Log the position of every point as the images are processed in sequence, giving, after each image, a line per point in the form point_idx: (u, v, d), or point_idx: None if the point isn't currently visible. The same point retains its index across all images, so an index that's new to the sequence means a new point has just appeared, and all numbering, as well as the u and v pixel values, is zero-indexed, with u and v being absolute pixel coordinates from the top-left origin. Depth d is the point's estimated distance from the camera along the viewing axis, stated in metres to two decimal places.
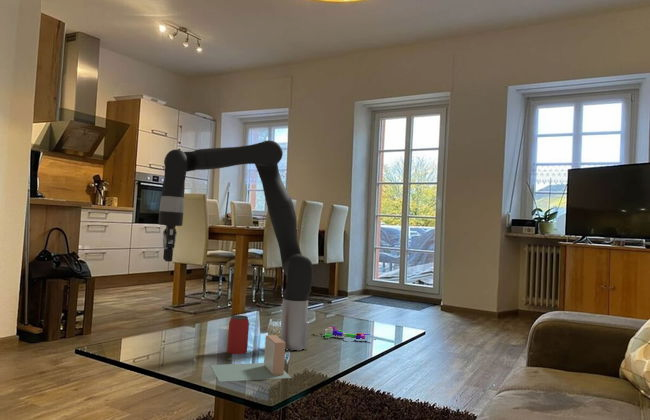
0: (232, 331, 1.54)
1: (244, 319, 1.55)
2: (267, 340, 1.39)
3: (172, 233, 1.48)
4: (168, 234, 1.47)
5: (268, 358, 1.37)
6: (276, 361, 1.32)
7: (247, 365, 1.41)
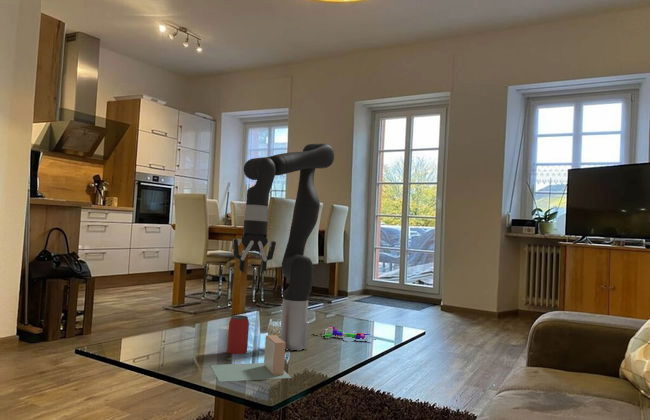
0: (232, 331, 1.54)
1: (244, 319, 1.55)
2: (267, 340, 1.39)
3: None
4: None
5: (268, 358, 1.37)
6: (276, 361, 1.32)
7: (247, 365, 1.41)
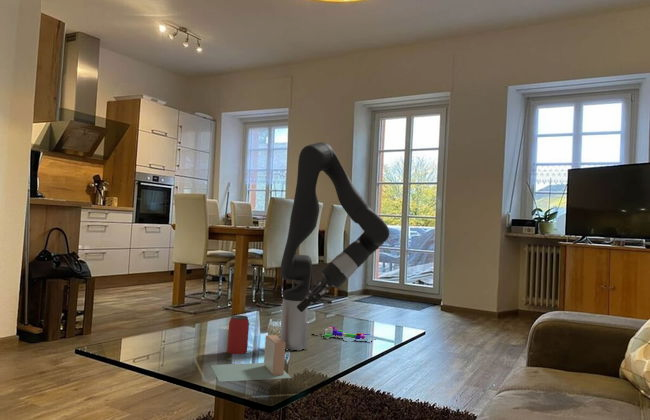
0: (232, 331, 1.54)
1: (244, 319, 1.55)
2: (267, 340, 1.39)
3: None
4: None
5: (268, 358, 1.37)
6: (276, 361, 1.32)
7: (247, 365, 1.41)
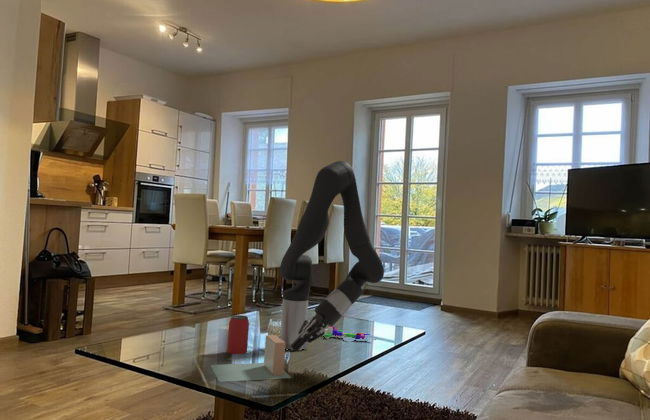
0: (232, 331, 1.54)
1: (244, 319, 1.55)
2: (267, 340, 1.39)
3: None
4: None
5: (268, 358, 1.37)
6: (276, 361, 1.32)
7: (247, 365, 1.41)
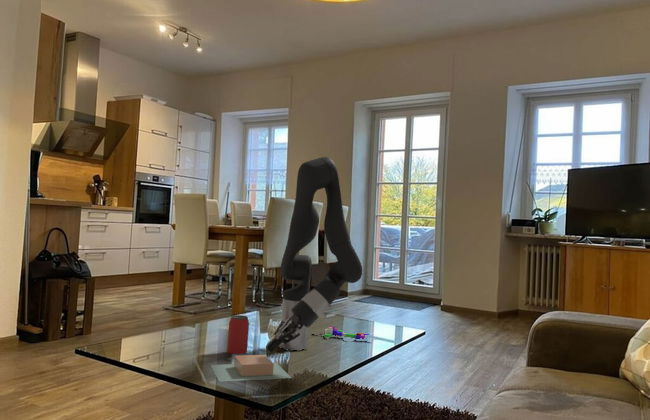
0: (232, 331, 1.54)
1: (244, 319, 1.55)
2: None
3: None
4: None
5: None
6: (259, 372, 1.30)
7: None
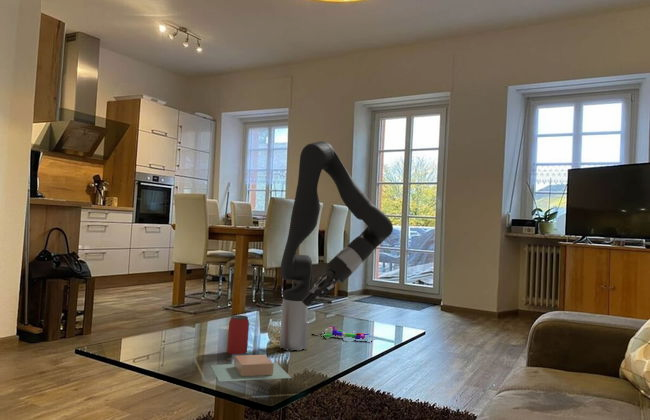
0: (232, 331, 1.54)
1: (244, 319, 1.55)
2: None
3: None
4: None
5: None
6: (259, 372, 1.30)
7: None
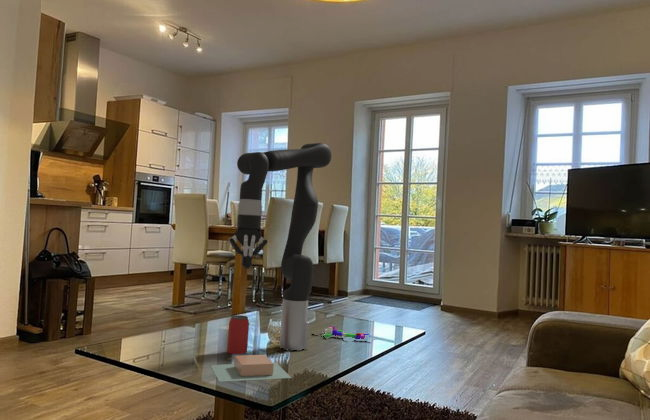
0: (232, 331, 1.54)
1: (244, 319, 1.55)
2: None
3: None
4: None
5: None
6: (259, 372, 1.30)
7: None
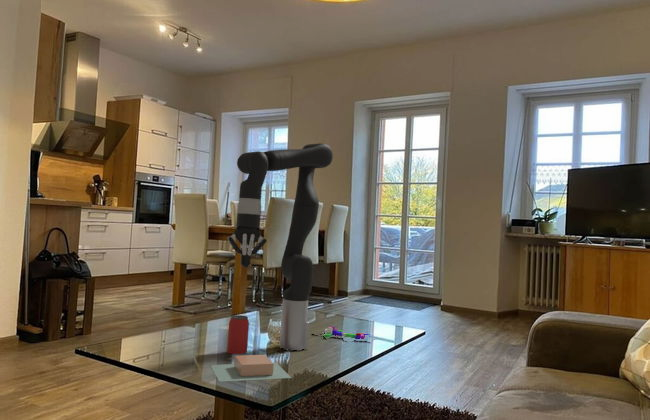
0: (232, 331, 1.54)
1: (244, 319, 1.55)
2: None
3: None
4: (263, 244, 1.53)
5: None
6: (259, 372, 1.30)
7: None
